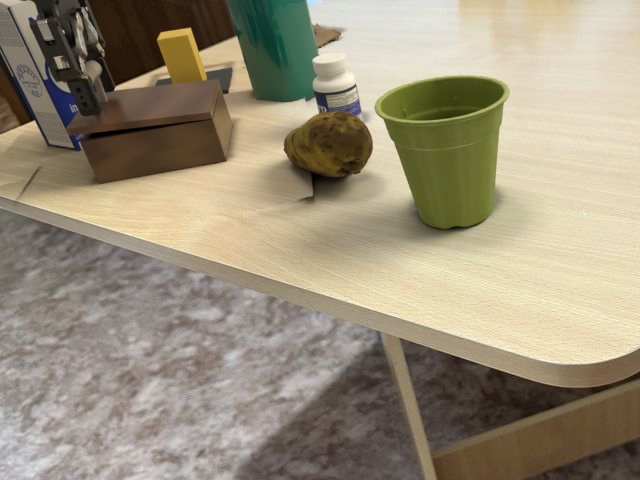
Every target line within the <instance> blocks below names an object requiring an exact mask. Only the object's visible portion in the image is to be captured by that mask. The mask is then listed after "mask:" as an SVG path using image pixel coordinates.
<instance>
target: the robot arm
mask: <svg viewBox="0 0 640 480" xmlns="http://www.w3.org/2000/svg"><path fill="white" fill-rule="evenodd" d="M20 1H27V0H20ZM30 1H32V2H34V3H35V5H36V9H37V12H38V15H39V19H37V20H33V21H29V24H30V28H31V30H32V32H33V34H34V36H35V39H36V41H37V43H38V45H39V47H40V49H41V52H42V54H43V56H44V58H45V60H46V62H47V65H48V67H49V69H50V71H51V73H52V76H53V78H54V79H55V81H56V82H63V83H67V86H68V88H69V90H70V92H71V94H72V96H73V99H74V101H75V103H76V105H77V107H78V110H79V112H80V114H81V115H82V116H85V117H87V116H93V115H98V114H100V113H101V111H102V107H101V105H100V103H99V100H98V98H97V96H96V93H95V91H94V89H93V86H94V84H93V86H92V84H91V82H90V80H89V78H88V74H87V71H86V67H85V63H86V62H87V61H90V60H93V61H96V62H97V63H99V64H100V66H101V68H102V73H101V74H100V76H99V77H100V80H101V83H102V85H103V88H104V91H105V93H108V92H113V91H114V90H116V84H115V82H114V79H113V76H112V74H111V72H110V69H109V67H108V64H107V62H106V60H105V58H104V57H105V50H104V48H106V41H105V39H104V37H103V35H102V32H101V30H100V27H99V25H98V23H97V20H96V17H95V15H94V13H93V11H92V8H91V6H90V3H89V1H88V0H30ZM84 60H87V61H84ZM55 61H56V62H55ZM66 62H68V65H69V67H67V68H66ZM56 63H57V64H56ZM94 88H95V86H94ZM95 90H96V88H95ZM96 92H97V91H96Z"/></svg>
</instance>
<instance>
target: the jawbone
mask: <svg viewBox="0 0 640 480" xmlns="http://www.w3.org/2000/svg"><path fill="white" fill-rule="evenodd" d="M312 26H313V31H314V35H315V40H316V44H317V48H318V49H319V48H321V47H323V46H325V45H326V44H327V43H329V42H330V41H332V40H335V39H336V38H340V37H341V36H342V32H341V31H340V30H338V29H335V28H334V29H333V28H332V29H331V28H325V27H322V26H320V25H319V23H317V22H316V23H315V24H312Z"/></svg>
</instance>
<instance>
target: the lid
mask: <svg viewBox="0 0 640 480" xmlns="http://www.w3.org/2000/svg"><path fill="white" fill-rule="evenodd" d="M85 67H86V71H87V74H88V78H89V80H90V82H91V84H92V86H93V84H94V86H95V88H96V91H97V92H96V96H97V98H98V100H99V103H100V105H101V107H102V111H101V113H100V114H98V115H93V116H87V117H85V116H82V115H81V114H80V112H79V111H78V112H77V113H76V115H75V116H74V118H73V119H72V121H71V122H70V124H69V125H68V126H67V128H66V131H67V133H68V135H69V136H70V135H79V134H87V133H96V132H104V131H112V130H121V129H129V128H138V127H146V126H155V125H163V124H172V123H180V122H188V121H197V120H205V119H212V116H213V112H214V108H215V103H216V99H217V95H218V90H219V86H220V84H219V80H218V79H213V80H204V81H195V82H186V83H177V84H168V85H159V86H155V85H152V86H143V87H134V88H133V87H132V88H125V89H114V91H113V92H108V93H105V91H104V88H103V85H102V83H101V80H100V77H99V76H100V74H101V73H102V68H101V66H100V64H99V63H97V62H96V61H93V60H90V61H87V62H86V63H85Z"/></svg>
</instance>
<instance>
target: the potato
mask: <svg viewBox="0 0 640 480" xmlns="http://www.w3.org/2000/svg"><path fill="white" fill-rule="evenodd" d="M364 123H365V122H364ZM364 123H363V122H362V121H361V120H360V119H359V118H358V117H357V116H355V115H353V114H351V113H349V112H346V111H336V112H331V111H330V112H322V113H320V114H319V113H317V114H315V115H313V116H312V117H310V118H309V119H308V120H307V121H306V122H305V123H303V124H302V125H301V126H298V127H296V128H294V129H293V130H291V131H290V132H288V134H287V135H286V136H285V137H284V140H283V152H284V153H285V154H286V156H287V159H288V160H289V162H291V164H293V165H295V166H296V167H298V168H299V169H302V170H303V169H304V170H307V171H309V172H311V173H314V174H317V175H320V176H322V177H325V178H327V177H328V178H342V177H343V178H344V177H347V176H350V175H358V174H361V171H362V170H363V169H364V168H365V166H366V165H367V163H368V161H369V160H370V158H371V157H372V154H373V152H374V151H373V150H374V141H373V140H374V139H373V137H372V134H371V132H370V130H369V128H368V126H367V125H366V124H364Z"/></svg>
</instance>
